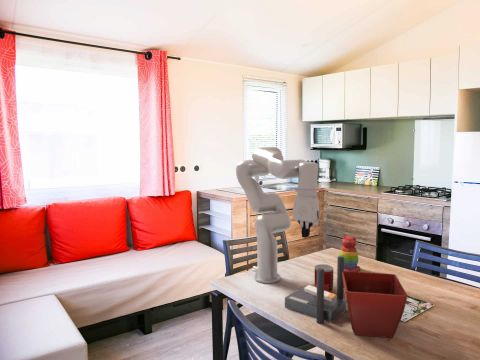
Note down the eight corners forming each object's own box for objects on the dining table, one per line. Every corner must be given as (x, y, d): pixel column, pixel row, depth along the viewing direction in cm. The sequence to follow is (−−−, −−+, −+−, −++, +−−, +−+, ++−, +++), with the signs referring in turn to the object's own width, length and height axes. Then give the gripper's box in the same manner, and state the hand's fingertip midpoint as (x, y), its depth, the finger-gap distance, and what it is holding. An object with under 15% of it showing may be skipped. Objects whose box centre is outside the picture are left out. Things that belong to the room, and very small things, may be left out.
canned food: (333, 295, 157) (333, 270, 156) (314, 294, 159) (314, 269, 158) (332, 288, 165) (333, 264, 163) (314, 287, 166) (314, 263, 165)
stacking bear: (360, 268, 189) (361, 234, 187) (358, 275, 180) (359, 239, 178) (339, 265, 194) (340, 232, 192) (335, 272, 184) (336, 237, 182)
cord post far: (335, 305, 148) (336, 257, 145) (338, 303, 150) (339, 255, 147) (341, 307, 146) (342, 258, 144) (344, 305, 148) (345, 257, 146)
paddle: (303, 290, 146) (304, 287, 146) (308, 287, 149) (309, 284, 149) (331, 301, 138) (332, 298, 138) (336, 298, 141) (336, 294, 141)
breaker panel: (284, 307, 147) (284, 293, 146) (301, 296, 157) (301, 283, 156) (331, 323, 134) (331, 307, 134) (346, 309, 144) (346, 295, 144)
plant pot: (406, 345, 119) (408, 295, 118) (345, 339, 123) (346, 291, 121) (393, 317, 138) (395, 273, 136) (341, 313, 142) (341, 270, 140)
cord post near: (315, 322, 135) (315, 269, 132) (318, 319, 137) (319, 267, 134) (321, 324, 133) (322, 271, 131) (324, 321, 135) (325, 269, 133)
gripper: (286, 191, 150) (284, 235, 153) (319, 196, 140) (317, 243, 143) (295, 189, 155) (294, 231, 158) (328, 193, 146) (326, 238, 149)
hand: (305, 236), depth 151 cm, fingers closed
